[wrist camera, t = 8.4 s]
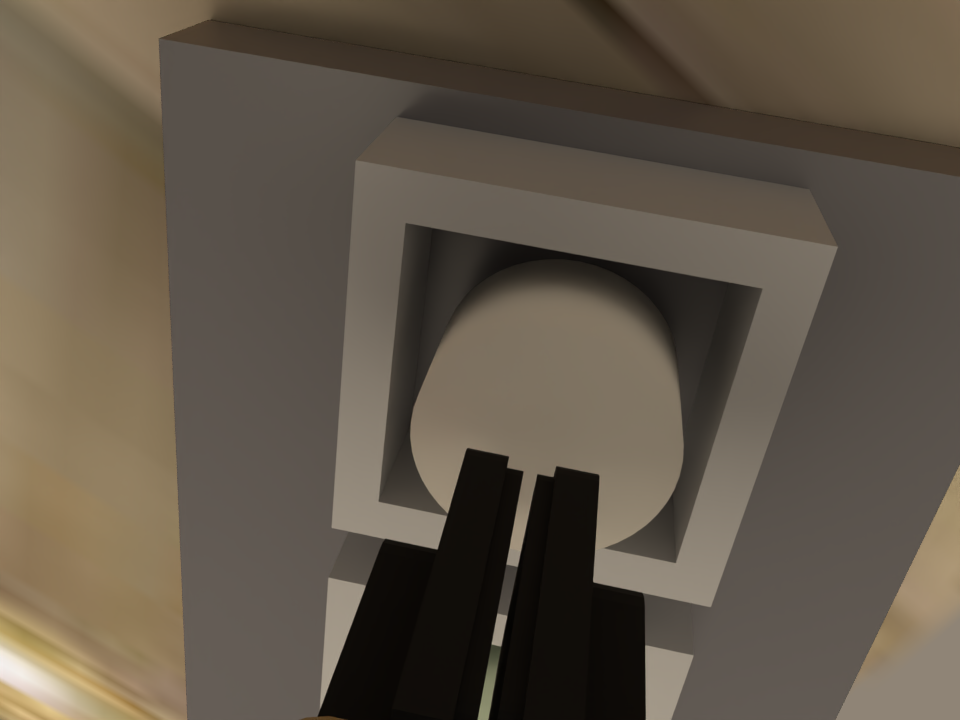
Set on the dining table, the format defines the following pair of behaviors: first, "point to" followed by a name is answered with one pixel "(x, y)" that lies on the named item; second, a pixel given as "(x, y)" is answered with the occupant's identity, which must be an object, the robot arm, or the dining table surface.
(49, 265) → the dining table surface
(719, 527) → the button pad
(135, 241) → the dining table surface
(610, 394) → the cream button
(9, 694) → the dining table surface
